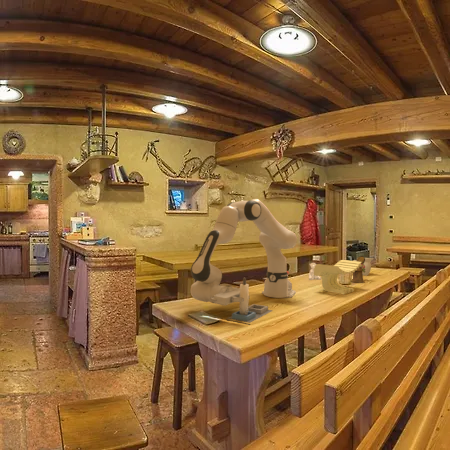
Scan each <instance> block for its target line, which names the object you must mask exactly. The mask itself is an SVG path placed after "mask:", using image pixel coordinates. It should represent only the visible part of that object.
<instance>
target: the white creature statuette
mask: <svg viewBox="0 0 450 450" xmlns="http://www.w3.org/2000/svg"><path fill="white" fill-rule="evenodd" d="M317 264H318V263H315V262H311V263H309V266H310V269H309V273H308V280H309V281H312V280H313V281H314V280H315V281H316V280H319V281H322V278H321V276H314V267H315V266H316V265H317Z"/></svg>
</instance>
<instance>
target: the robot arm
mask: <svg viewBox="0 0 450 450" xmlns="http://www.w3.org/2000/svg"><path fill="white" fill-rule="evenodd" d="M215 220H216V221H215V223H214V227H213V228H212V230H210V232H209V233H208V234H207V236H206V237H205V240H204V242H203V244H202V247H201V248H200V250H199V252H198V255H197V257H196V259H195V260H194V262H193V263H192V265H191V267H190V275H191V278H192V279H193V280H195V282H193V283H192V284H191V285H190V294H191V296H192V298H193V299H194V300H197V301H200V302H206V303H208V302H209V303H212V304H216V305H219V306H228V305H230V304H232V303H233V304H234V303H240V302H243V301H244V298H241V297H240V287H236V286H235V287H234V286H232V285H222V284H221V282H222V278H223V273H222V270H221V269H220V268H219V267H217V266H216V265H213V264H212V263H211V259H212V257H213V255H214V251H215V250H216V247H217V246H218V245H219V244H221V245H222V244H228V243H229V242H232V240H233V239H234V237H235V234H236V231H237V228H238V222H249V221H251V222H253V224H254V225H255V227H256V228H257V229H258V230H259V231H260V232H259V235H258V239H259V243H260V244H261V246H263V248H264V250H265V253H266V257H267V271H266V279H265V280H264V284H263V285H264V286H263V290H262V291H261V294H263V295H264V296H265V297H269V298H275V299H276V298H277V299H278V298H279V299H280V298H281V299H282V298H292V297H293V296H294V295H295V294H296V292H297V291H296V290H294V289H293V283H292V282H291V281H290V280H289V277H288V276H289V274H290V272H289V271H288V270H287V269H288V268H287V267H288V266H287V261H288V260H287V257H286V256H285V255H284V254H283V253H282V250H281V249H283V250H287V249H293V248H294V247H296V245H297V244H298V237H297V234H296V233H295V232H294V231H292V230H290V229H288V228H287V227H286V226H285V225H283V224H282V223H280V222H279V221H278V220H277V219H276V217H275V216H274V214H272V212H271V211H270V209H269V208H268V207H267V206H266V205H265V203H263V202H262V201H261V200H260V199H259V198H253V199H249V200H239V201H234V202H233V201H232V202H229V203H228V204H227V205H225V206H223V207H222V208H221V209H220V212H219V214H218V216H217V217H216V219H215Z"/></svg>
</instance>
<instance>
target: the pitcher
mask: <svg viewBox="0 0 450 450" xmlns="http://www.w3.org/2000/svg"><path fill="white" fill-rule="evenodd" d="M364 258H365V262H364V263H363V264H361V267H362V274H363V277H364V276H368V275H370V273H371V270H372V263H371V262H372V261H373V260H374V259H375V258H371V257H364ZM352 261H357V259H354V260H352Z"/></svg>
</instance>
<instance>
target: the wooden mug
mask: <svg viewBox="0 0 450 450" xmlns="http://www.w3.org/2000/svg"><path fill="white" fill-rule="evenodd" d="M365 258H366V257H364V256H363V255H360V256H358V257H357V258H356V260H357V262H361V264H363V263H364V262H365ZM351 283H354V284H364V283H365V282H364V276H363V274H362V267H361V266H360V267H359V268H357V270H355V272H353V279H352V282H351Z"/></svg>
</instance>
